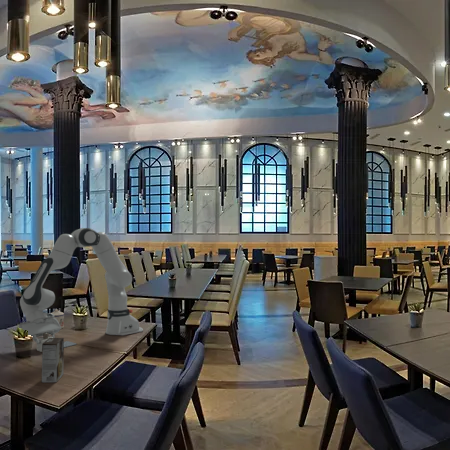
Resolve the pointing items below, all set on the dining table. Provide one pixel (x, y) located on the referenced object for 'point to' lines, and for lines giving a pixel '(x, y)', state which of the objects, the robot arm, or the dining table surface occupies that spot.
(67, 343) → the felt mat
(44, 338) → the perfume bottle
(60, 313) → the teacup with lid
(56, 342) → the coffee box
